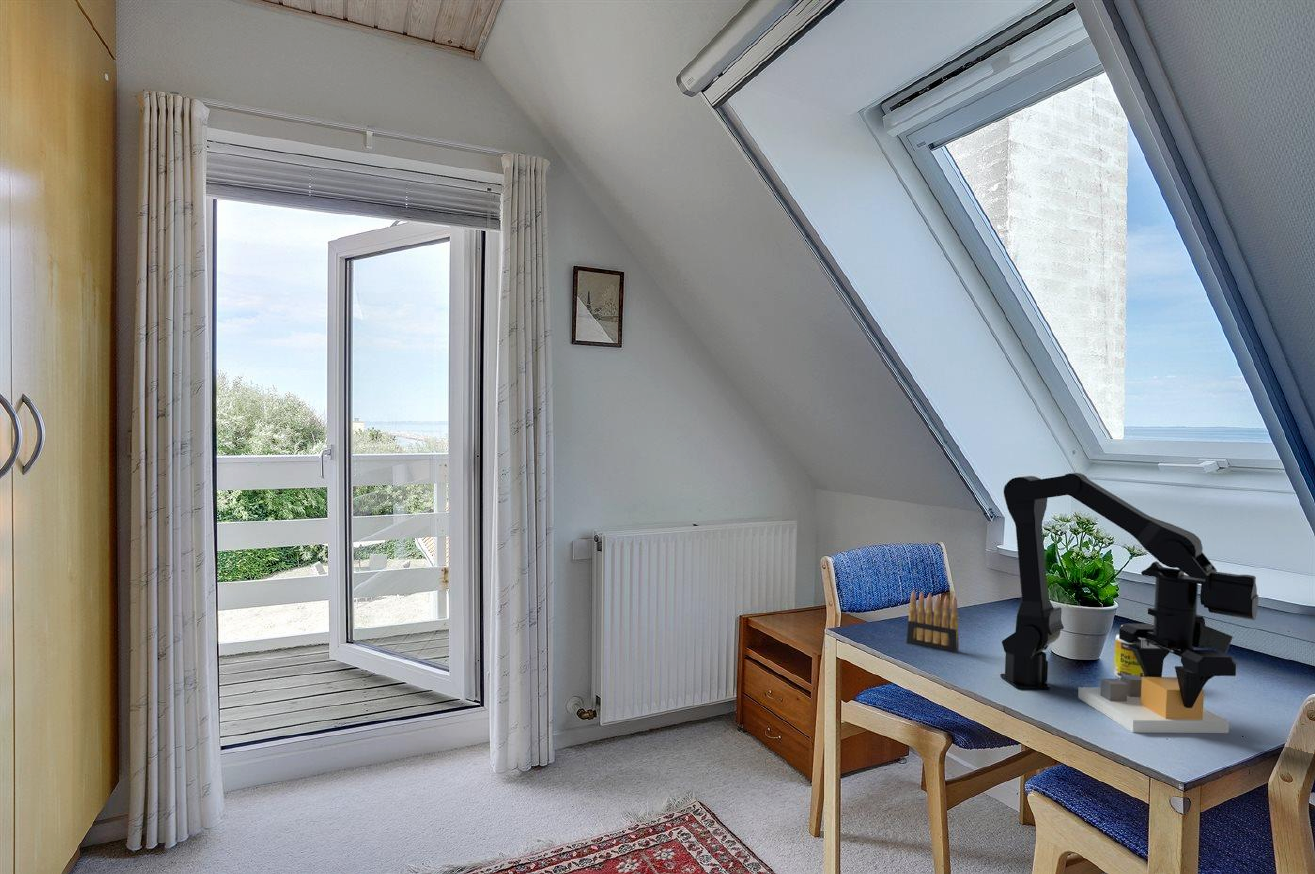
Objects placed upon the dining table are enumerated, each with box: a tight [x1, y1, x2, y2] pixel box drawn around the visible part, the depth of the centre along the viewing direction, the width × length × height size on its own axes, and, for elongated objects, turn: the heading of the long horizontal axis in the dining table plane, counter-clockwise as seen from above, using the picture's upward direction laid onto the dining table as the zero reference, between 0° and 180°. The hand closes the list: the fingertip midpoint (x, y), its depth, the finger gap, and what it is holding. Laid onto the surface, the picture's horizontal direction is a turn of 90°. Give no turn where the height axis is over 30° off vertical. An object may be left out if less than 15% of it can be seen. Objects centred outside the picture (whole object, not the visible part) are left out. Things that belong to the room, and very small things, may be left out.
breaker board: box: [1077, 675, 1230, 734], centre depth 121 cm, size 16×14×5 cm
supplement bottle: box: [1113, 624, 1145, 680], centre depth 139 cm, size 6×6×10 cm
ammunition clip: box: [905, 589, 959, 654], centre depth 155 cm, size 11×2×12 cm, turn 53°
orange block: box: [1141, 676, 1205, 719], centre depth 118 cm, size 6×6×5 cm
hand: (1171, 698), depth 118 cm, fingers open, 7 cm apart
